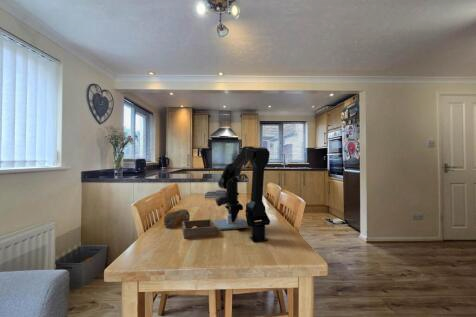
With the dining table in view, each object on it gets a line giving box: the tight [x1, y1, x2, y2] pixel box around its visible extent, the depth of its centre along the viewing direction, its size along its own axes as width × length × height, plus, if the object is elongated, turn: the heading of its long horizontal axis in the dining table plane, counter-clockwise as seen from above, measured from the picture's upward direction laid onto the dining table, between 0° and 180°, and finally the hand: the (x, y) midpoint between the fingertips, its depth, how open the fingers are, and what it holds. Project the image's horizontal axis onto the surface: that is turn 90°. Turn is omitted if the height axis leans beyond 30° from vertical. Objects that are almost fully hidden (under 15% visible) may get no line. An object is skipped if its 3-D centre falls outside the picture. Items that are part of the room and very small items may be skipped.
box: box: [181, 218, 218, 240], centre depth 116 cm, size 14×14×5 cm
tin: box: [163, 208, 190, 229], centre depth 130 cm, size 15×3×8 cm, turn 143°
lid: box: [213, 213, 250, 231], centre depth 128 cm, size 16×16×5 cm
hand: (232, 221), depth 128 cm, fingers closed on lid, 3 cm apart
